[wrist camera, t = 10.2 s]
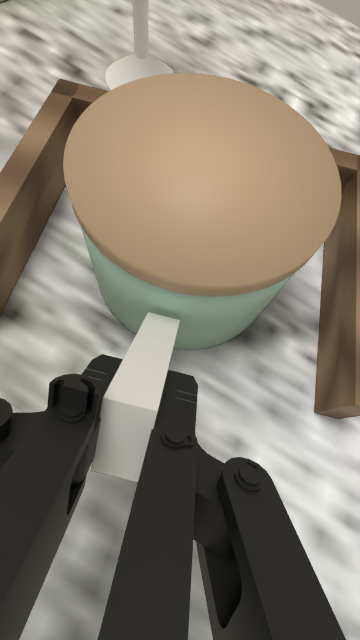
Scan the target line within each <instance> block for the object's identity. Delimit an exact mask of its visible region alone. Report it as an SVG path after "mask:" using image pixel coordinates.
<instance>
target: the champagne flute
mask: <svg viewBox="0 0 360 640" xmlns="http://www.w3.org/2000/svg"><path fill="white" fill-rule="evenodd" d="M133 21H134V52H135V53H132V54H130V55H128V56H126V57H123V58H121V59H119V60H117V61H115V62H113V63H112V64H111V65H110V66H109V67H108V69H107V70H106V73H105V80H106V84H107V85H108V87H109V88H110V89H111V90H112V89H114V88H116V87H118V86H121V85H123V84H125V83H128V82H131V81H134V80H137V79H140V78H144V77H149V76H154V75H161V74H169V73H174V72H173V70H172V69H171V68H170V67H169V66H167V65H166V64H164V63H163V62H161V61H159V60H158V59H156V58H154V57H153V56H151V55H150V54H148V0H133Z"/></svg>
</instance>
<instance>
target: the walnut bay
mask: <svg viewBox="0 0 360 640" xmlns="http://www.w3.org/2000/svg"><path fill="white" fill-rule="evenodd" d="M107 92H109V91H106V90H102V89H98V88H94V87H90V86H86V85H82V84H78V83H74V82H70V81H67V80H63V79H59V80H58V82H57V83H56V85H55V86H54V88H53V90H52V91H51V93H50V94H49V96H48V98H47V99H46V101H45V102H44V104H43V106H42V107H41V109H40V110H39V112H38V114H37V115H36V117H35V118H34V120H33V122H32V123H31V125H30V126H29V128H28V130H27V131H26V133H25V134H24V136H23V138H22V139H21V141H20V142H19V144H18V146H17V147H16V149H15V150H14V152H13V154H12V155H11V157H10V158H9V160H8V161H7V163H6V165H5V166H4V168H3V169H2V171H1V173H0V314H1V312H2V310H3V308H4V306H5V304H6V302H7V300H8V298H9V296H10V294H11V292H12V290H13V288H14V286H15V284H16V282H17V280H18V279H19V277H20V275H21V273H22V271H23V269H24V267H25V265H26V263H27V261H28V259H29V257H30V255H31V253H32V251H33V249H34V247H35V245H36V243H37V241H38V239H39V237H40V235H41V233H42V231H43V229H44V227H45V225H46V223H47V221H48V219H49V217H50V215H51V213H52V211H53V209H54V207H55V205H56V203H57V201H58V199H59V197H60V195H61V193H62V191H63V189H64V187H65V185H66V183H65V179H64V170H63V159H64V150H65V146H66V142H67V139H68V136H69V134H70V132H71V130H72V128H73V126H74V124H75V123H76V121H77V120H78V118H79V117H80V115H81V114H82V113H83V112H84V111H85V110H86V109H87V108H88V107H89V106H90V105H91V104H92V103H93V102H94V101H96V100H97V99H98V98H99V97H101V96H102V95H104V94H106V93H107ZM329 150H330V151H331V153H332V155H333V157H334V160H335V162H336V165H337V168H338V171H339V176H340V181H341V196H342V198H341V205H340V211H339V214H338V217H337V220H336V223H335V226H334V227H333V229H332V231H331V233H330V235H329V236H328V238H327V239H326V240H325V242H324V256H323V273H322V290H321V307H320V324H319V342H318V359H317V376H316V393H315V410H314V413H318V414H322V415H326V416H329V417H333V418H337V419H340V418H347V417H355V416H360V155H356V154H352V153H348V152H344V151H340V150H336V149H332V148H329Z"/></svg>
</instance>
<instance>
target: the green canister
mask: <svg viewBox="0 0 360 640" xmlns="http://www.w3.org/2000/svg"><path fill="white" fill-rule="evenodd" d="M63 170H64V179H65V183H66V187H67V190H68V194H69V197H70V200H71V203H72V207H73V210H74V213H75V215H76V217H77V219H78V221H79V223H80V225H81V228H82V231H83V235H84V238H85V241H86V245H87V248H88V251H89V254H90V258H91V261H92V264H93V268H94V271H95V274H96V278H97V281H98V284H99V288H100V291H101V294H102V296H103V299H104V301H105V303H106V305H107V306H108V308H109V309H110V311H111V312H112V314H113V315H114V316H115V317H116V318H117V320H118V321H119V322H120V323H121V324H122V325H124V326H125V327H126V328H127V329H128V330H130V331H131V332H133V333H134V334H137V333H138V331H139V329H140V327H141V325H142V323H143V321H144V319H145V317H146V316H147V314H148V312H150V313H154V314H158V315H162V316H166V317H170V318H174V319H178V320H180V322H179V326H178V330H177V334H176V338H175V342H174V346H173V349H183V350H193V349H203V348H209V347H213V346H216V345H219V344H222V343H224V342H226V341H228V340H231V339H233V338H234V337H236V336H237V335H239V334H240V333H242V332H243V331H244V330H245V329H246V328H247V327H248V326H250V325H251V323H252V322H253V321H254V320H255V319H256V318H257V316H258V315H259V314H260V313H261V312H262V311H263V309H264V308H265V307H266V306H267V305H268V303H269V302H270V301H271V300H272V299H273V298H274V296H275V295H276V294H277V293H278V292H279V291H280V289H281V288H282V287H283V286H284V285H285V284H286V282H287V281H288V280H289V279H290V278H291V277H292V275H293V274H294V273H295V272H296V271H298V270H299V269H300V268H301V267H302V266H303V265H304V264H305V263H307V262H308V260H309V259H310V258H311V257H312V256H313V255H314V253H315V252H316V251H317V250H318V249H319V248H320V246H321V245H322V244H323V243H324V242H325V240H326V239H327V238H328V236H329V235H330V233H331V231H332V229H333V227H334V226H335V223H336V220H337V217H338V214H339V211H340V205H341V198H342V196H341V181H340V176H339V171H338V168H337V165H336V162H335V160H334V157H333V155H332V153H331V151H330V150H329V148H328V146H327V144H326V143H325V141H324V140H323V138H322V137H321V136H320V134H319V133H318V132H317V131H316V130H315V128H314V127H313V126H312V125H311V124H310V123H309V122H308V121H307V120H306V119H305V118H304V117H303V116H301V115H300V114H299V113H298V112H297V111H295V110H294V109H293V108H291V107H290V106H289V105H287V104H286V103H284V102H283V101H281V100H279V99H278V98H276V97H274V96H272V95H270V94H269V93H267V92H265V91H263V90H261V89H258V88H256V87H253V86H251V85H248V84H245V83H242V82H239V81H236V80H233V79H228V78H224V77H219V76H214V75H207V74H197V73H169V74H161V75H154V76H149V77H144V78H140V79H137V80H134V81H131V82H128V83H125V84H123V85H121V86H118V87H116V88H114V89H112V90H111V91H109V92H107V93H106V94H104V95H102V96H101V97H99V98H98V99H97V100H96V101H94V102H93V103H92V104H91V105H90V106H89V107H88V108H87V109H86V110H85V111H84V112H83V113H82V114H81V115H80V117H79V118H78V120H77V121H76V123H75V124H74V126H73V128H72V130H71V132H70V134H69V136H68V139H67V142H66V146H65V150H64V159H63Z"/></svg>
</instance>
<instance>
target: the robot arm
mask: <svg viewBox="0 0 360 640" xmlns="http://www.w3.org/2000/svg"><path fill="white" fill-rule="evenodd" d="M179 322H180V320H178V319H174V318H170V317H166V316H162V315H158V314H154V313H150V312H148V314H147V316H146V317H145V319H144V321H143V323H142V325H141V327H140V329H139V331H138V333H137V334H136V336H135V338H134V340H133V342H132V344H131V346H130V348H129V349H128V351H127V353H126V355H125V357H124V359H119V358H115V357H111V356H107V355H103V354H102V355H100V356H98V357H96V358H95V359H93V360H92V361H91V362H90V363H89V365H88V366H87V368H86V369H85V370H84V372H83V373H82V375H79V374H67V375H62V376H59V377H57V378H55V379H54V380H52V381H51V382H50V384H49V396H48V408H47V409H46V410H45V411H42V412H35V413H12V411H13V410H12V407H11V404H10V403H8V402H7V401H6V400H4V399H1V398H0V640H19V638H20V636H21V634H22V631H23V629H24V627H25V624H26V622H27V620H28V617H29V615H30V613H31V610H32V608H33V606H34V603H35V601H36V599H37V596H38V594H39V592H40V589H41V587H42V585H43V582H44V580H45V578H46V575H47V573H48V571H49V568H50V566H51V564H52V561H53V559H54V557H55V554H56V552H57V550H58V547H59V545H60V543H61V540H62V538H63V536H64V533H65V531H66V529H67V526H68V524H69V522H70V519H71V517H72V515H73V512H74V510H75V508H76V505H77V503H78V501H79V498H80V496H81V494H82V491H83V489H84V486H85V481H86V475H87V472H88V470H89V467H90V465H91V463H92V466H91V471H94V472H98V473H102V474H106V475H110V476H114V477H118V478H122V479H126V480H130V481H134V482H138V484H137V488H136V492H135V496H134V500H133V504H132V508H131V512H130V516H129V520H128V523H127V527H126V531H125V535H124V539H123V543H122V547H121V551H120V555H119V559H118V563H117V566H116V570H115V574H114V578H113V582H112V586H111V590H110V594H109V598H108V602H107V606H106V610H105V613H104V617H103V621H102V625H101V629H100V633H99V637H98V640H188V625H189V606H190V587H191V568H192V549H193V539H194V540H195V541H197V551H198V556H199V562H200V568H201V573H202V579H203V585H204V590H205V596H206V602H207V607H208V613H209V619H210V624H211V630H212V636H213V640H346V639H345V637H344V634H343V632H342V630H341V628H340V626H339V624H338V621H337V619H336V617H335V615H334V613H333V611H332V608H331V606H330V604H329V602H328V600H327V598H326V595H325V593H324V591H323V589H322V587H321V585H320V582H319V580H318V578H317V576H316V574H315V572H314V569H313V567H312V565H311V563H310V561H309V559H308V557H307V554H306V552H305V550H304V548H303V546H302V544H301V541H300V539H299V537H298V535H297V533H296V531H295V528H294V526H293V524H292V522H291V520H290V518H289V515H288V513H287V511H286V509H285V507H284V505H283V502H282V500H281V498H280V496H279V494H278V492H277V489H276V487H275V485H274V483H273V481H272V479H271V477H270V476H269V474H268V473H267V471H266V470H264V469H263V468H262V467H261V466H260V465H259V464H257V463H255V462H253V461H252V460H250V459H246V458H241V457H237V458H231V459H230V460H228V461H227V462H225V463H223V462H221V461H219V460H217V459H215V458H214V457H212V456H210V455H209V454H207V453H206V452H205V451H204V450H203V449H202V448H201V447H200V445H199V444H198V442H197V438H196V436H195V423H196V408H197V404H196V403H197V392H198V385H197V383H196V381H195V379H194V377H193V376H190V375H186V374H182V373H178V372H174V371H170V370H168V367H169V363H170V359H171V355H172V351H173V346H174V342H175V338H176V334H177V330H178V326H179Z"/></svg>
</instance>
